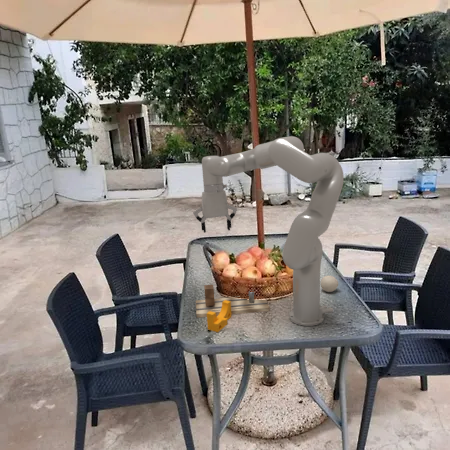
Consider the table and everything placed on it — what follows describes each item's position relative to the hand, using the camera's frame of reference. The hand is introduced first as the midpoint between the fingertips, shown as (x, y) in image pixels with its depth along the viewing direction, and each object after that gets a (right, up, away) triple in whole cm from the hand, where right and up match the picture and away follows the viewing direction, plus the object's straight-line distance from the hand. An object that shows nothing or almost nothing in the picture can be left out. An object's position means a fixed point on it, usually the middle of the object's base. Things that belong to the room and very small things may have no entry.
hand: (216, 230), depth 163 cm
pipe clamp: (+2, -34, -13) cm, 37 cm away
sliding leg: (-3, -29, -3) cm, 29 cm away
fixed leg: (+14, -28, -1) cm, 31 cm away
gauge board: (+6, -30, -2) cm, 31 cm away
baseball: (+47, -26, +9) cm, 54 cm away
